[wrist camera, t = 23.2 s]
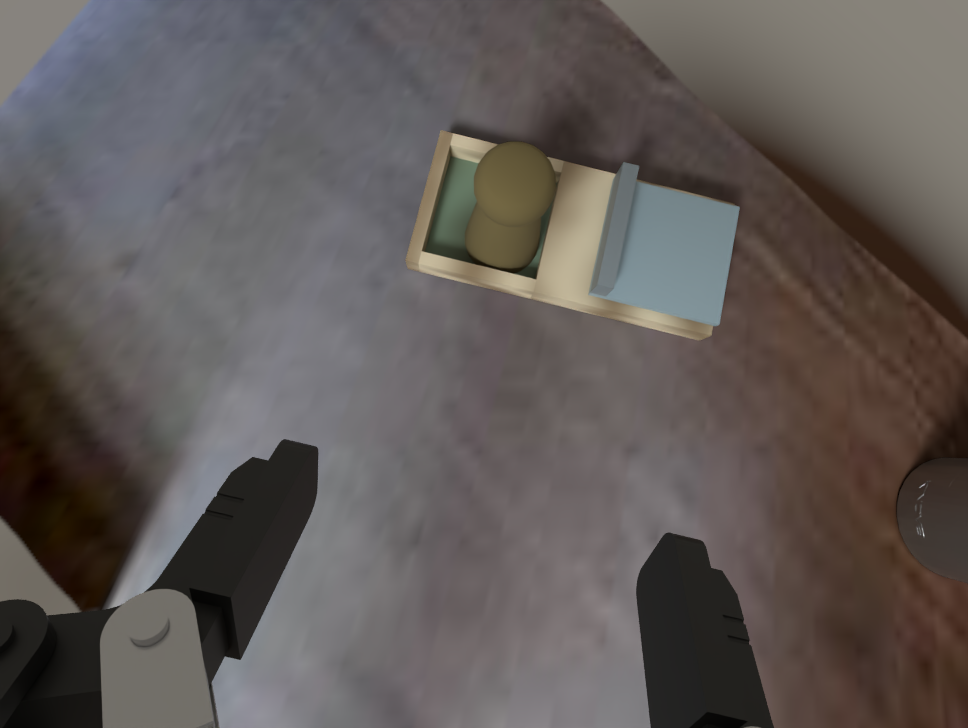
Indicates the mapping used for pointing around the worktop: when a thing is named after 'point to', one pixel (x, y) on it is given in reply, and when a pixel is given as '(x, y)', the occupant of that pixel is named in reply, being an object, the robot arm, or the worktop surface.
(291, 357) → the worktop surface
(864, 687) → the worktop surface
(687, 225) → the cover
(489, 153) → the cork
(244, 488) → the robot arm
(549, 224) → the board
